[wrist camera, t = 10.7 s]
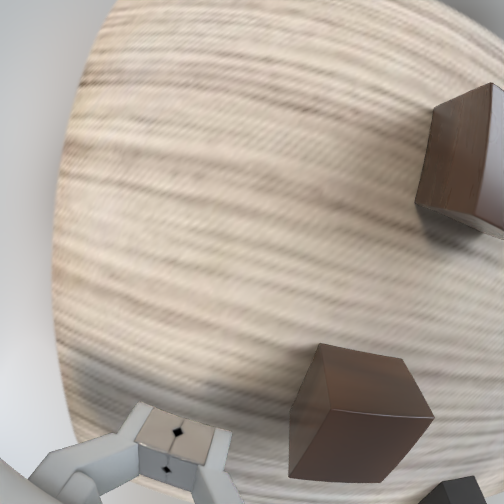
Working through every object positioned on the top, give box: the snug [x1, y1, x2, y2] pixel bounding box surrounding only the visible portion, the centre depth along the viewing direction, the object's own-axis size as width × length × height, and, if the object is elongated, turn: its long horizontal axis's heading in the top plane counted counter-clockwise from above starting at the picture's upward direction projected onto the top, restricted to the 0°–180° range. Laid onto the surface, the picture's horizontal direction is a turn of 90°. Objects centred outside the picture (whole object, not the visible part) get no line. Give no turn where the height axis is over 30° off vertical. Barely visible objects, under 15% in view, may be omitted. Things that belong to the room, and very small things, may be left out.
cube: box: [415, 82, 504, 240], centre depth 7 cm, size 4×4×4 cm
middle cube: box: [288, 343, 435, 483], centre depth 10 cm, size 4×4×4 cm
